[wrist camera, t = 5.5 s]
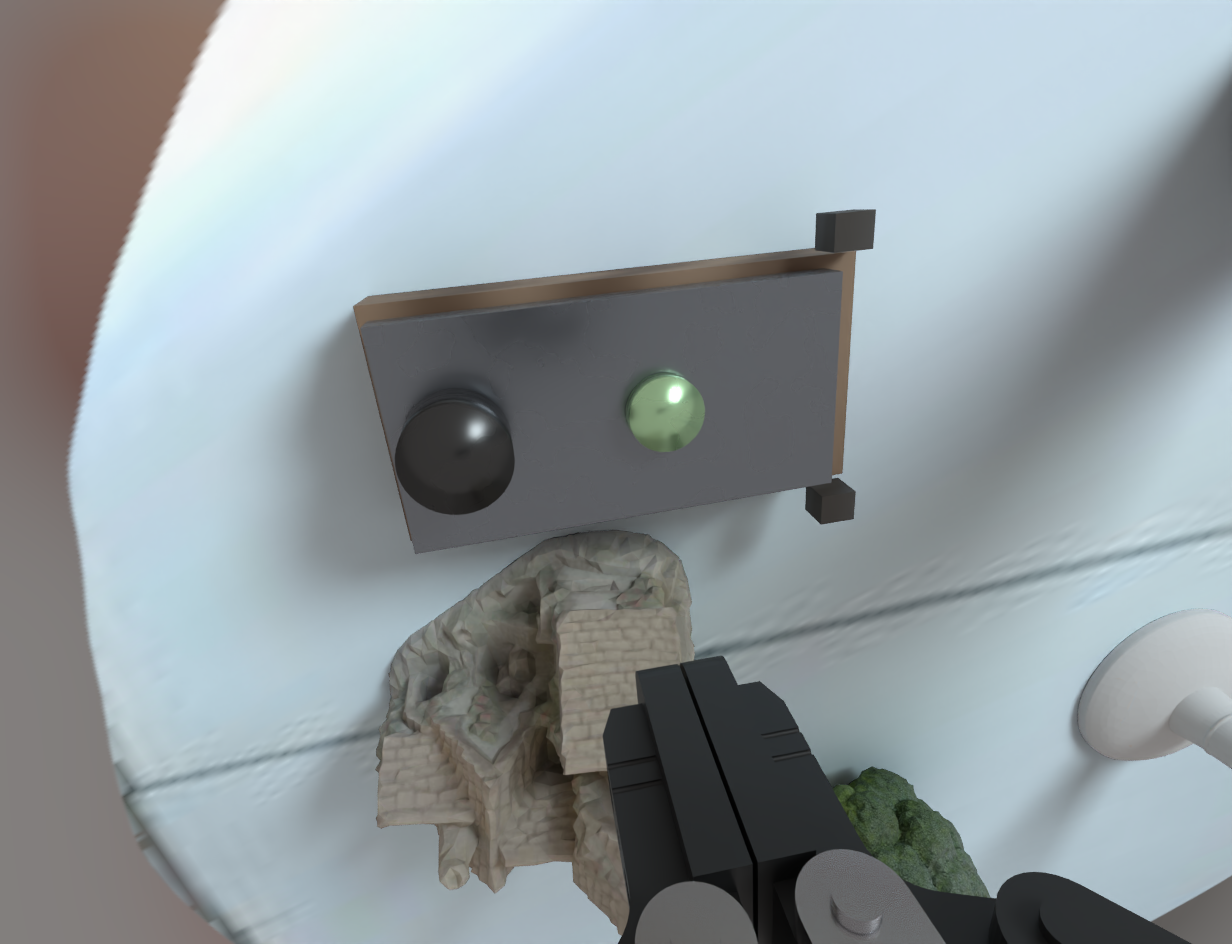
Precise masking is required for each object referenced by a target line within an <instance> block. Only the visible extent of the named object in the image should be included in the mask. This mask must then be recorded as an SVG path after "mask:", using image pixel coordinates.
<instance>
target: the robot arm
mask: <svg viewBox="0 0 1232 944" xmlns="http://www.w3.org/2000/svg"><path fill="white" fill-rule="evenodd" d="M635 678H636V689H637V699H638V704H635V705H630V706H624V707H619V708H613V709H611V710H610V713H609V716H608V720H607V723H606V726H605V729H604V732H603V744H604V751H605V759H606V766H607V774H608V781H609V789H610V796H611V804H612V810H613V815H614V821H615V827H616V833H617V839H618V845H619V851H620V857H621V863H622V869H623V875H624V881H625V887H626V893H627V899H628V905H629V916H628V921H627V924H626V927H625V930H624V933H623V935H622V937H621V939H620V941H619V942H618V944H1191V943H1189V942H1187V941H1185V940H1183V939H1182V938H1180V937H1178V936H1176V935H1174V934H1172V933H1170V932H1168V931H1167V930H1165V929H1163V928H1161V927H1159V926H1157V925H1155V924H1154V923H1152V922H1150V921H1148V920H1146V919H1144V918H1142V917H1140V916H1138V915H1137V914H1135V913H1133V912H1131V911H1129V910H1127V909H1125V908H1123V907H1121V906H1120V905H1118V904H1116V903H1114V902H1112V901H1110V900H1108V899H1106V898H1104V897H1103V896H1101V895H1099V894H1097V893H1095V892H1093V891H1091V890H1089V889H1087V888H1086V887H1084V886H1082V885H1080V884H1078V883H1075V882H1073V881H1071V880H1069V879H1066V878H1063V877H1060V876H1057V875H1053V874H1048V873H1041V872H1028V873H1022V874H1018V875H1015V876H1013V877H1011V878H1010V879H1008V880H1007V881H1006V882H1005V883H1004V884H1003V885H1002V886H1001V888H1000V890H999V891H998V894H997V898H996V899H995V898H987V897H979V896H971V895H963V894H955V893H948V892H940V891H935V890H930V889H926V888H923V887H920V886H917V885H914V884H912V883H910V882H908V881H905V880H903V879H902V878H900V877H899V876H898V875H897V874H896V873H895V872H894V871H893V870H892V869H891V868H889V867H888V866H887V865H885V864H884V863H882V862H881V861H879V860H877V859H876V858H874V857H873V856H872V854H871V853H870V852H869V851H868V850H867V848H866V847H865V845H864V844H863V842H862V841H861V839H860V837H859V836H858V834H857V832H856V830H855V828H854V827H853V825H852V823H851V821H850V819H849V818H848V816H847V814H846V812H845V810H844V809H843V807H842V805H841V803H840V801H839V800H838V798H837V796H836V794H835V792H834V791H833V789H832V787H831V785H830V783H829V782H828V780H827V778H826V776H825V774H824V773H823V771H822V769H821V767H820V765H819V764H818V762H817V760H816V758H815V756H814V755H812V754H811V750H810V747H809V746H808V744H807V742H806V740H805V738H804V737H803V735H802V733H800V732H799V729H798V726H797V724H796V722H795V720H794V719H793V717H792V715H791V713H790V711H789V710H788V708H787V706H786V704H785V702H784V701H783V700H782V699H781V698H779V697H778V696H777V695H776V694H775V693H773V692H772V691H771V690H770V689H768V688H767V687H766V686H765V685H764V684H762V683H761V682H760V681H759V682H753V683H748V684H742V685H737V683H736V680H735V678H734V676H733V674H732V672H731V670H730V668H729V666H728V664H727V662H726V660H725V658H724V657H723V656H716V657H711V658H705V659H699V660H694V661H688V662H683V663H680V665H678V664H673V665H667V666H661V667H656V668H650V669H645V670H639V671H636V672H635Z"/></svg>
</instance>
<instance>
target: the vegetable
mask: <svg viewBox="0 0 1232 944" xmlns="http://www.w3.org/2000/svg"><path fill="white" fill-rule="evenodd" d="M833 791H834V792H835V794H836V796H837V798H838V800H839V801H840V803H841V805H842V807H843V809H844V810H845V812H846V814H847V816H848V818H849V819H850V821H851V823H852V825H853V827H854V828H855V830H856V832H857V834H858V836H859V837H860V839H861V841H862V842H863V844H864V845H865V847H866V848H867V850H868V851H869V852H870V853H871V854H872V856H873V857H874V858H876V859H877V860H879V861H881V862H882V863H884V864H885V865H887V866H888V867H889V868H891V869H892V870H893V871H894V872H895V873H896V874H897V875H898V876H899V877H900V878H902V879H903V880H905V881H908V882H910V883H912V884H914V885H917V886H920V887H923V888H926V889H930V890H935V891H940V892H948V893H955V894H963V895H971V896H979V897H987V898H991V897H990V895H989V893H988V891H987V888H986V886H985V885H984V883H983V882H982V880H981V878H980V877H979V875H978V874H977V869H976V868H975V866H974V864H973V862H972V860H971V857H970V856H969V855H968V854H967V853H966V852H965V851H964V847H963V843H962V840H961V837H960V835H959V833H958V832H957V830H956V829H955V827H954V825H953V824H952V823H951V822H950V821H948V820H947V819H945V818H943V817H942V816H941V814H940V813H939V812H937V811H933V810H932V809H931V808H930V807H929V806H928V805H927V804H926V803H925V802H924V801H923V800H921V799H918V798H917V797H916V795H915V793H914V788H913V785H910V784H908V782H907V780H906V779H904V778H902V777H900V776H899V775H897V774H895V773H893V772H890V771H888V770H885V769H877V768H875V767H873V766H872V767H870V768H869V769H866V770H864V771H862V773H861V775H860V777H859V778H858V779H856V780H854V781H852V782H851V783H850V784H849V785H836V786H835V787H834V788H833Z"/></svg>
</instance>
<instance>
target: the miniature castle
mask: <svg viewBox="0 0 1232 944" xmlns="http://www.w3.org/2000/svg"><path fill="white" fill-rule="evenodd" d="M691 603H692V601H691V595H690V590H689V585H688V579H687V577H686V574H685V572H684V569H683V566H682V562H681V560H679V557H678V556H677V555H676V554H674V553H673V552H672V551H671V550H670V549H669V548H668V547H666V546H665V545H664V544H663V543H662V542H660V541H658V540H654V539H653V538H652V537H651V536H650V535H649V534H647V535H645V534H640V533H633V532H627V531H619V530H609V531H591V532H583V533H576V534H575V535H568V536H567V537H557V538H552V539H548V540H545V541H543V542H542V543H540V544H539V545H537V546H536V547H535V548H533V550H530V551H528V552H527V553H526V554H524V555H523V556H521V557H520V558H519V559H517V560H516V561H515V562H513V563H512V564H510V565H509V566H508V567H507V568H505V569H503V570H502V572H501V573H499V574H496V575H495V576H494V577H492V578H491V579H490V580H488V581H487V582H486V583H484V584H483V585H482V586H481V587H480V588H479V589H475V590H473V591H472V592H471V593H470V594H469V595H468V596H467V597H466V598H464V600H463V601H460V602H458V603H456V605H455V606H452V607H451V608H450V609H448V610H446V611H445V612H444V613H442V614H441V615H439V616H438V617H437V618H436V619H435V620H433V621H431V622H429V623H428V624H427V625H426V626H424V627H422V628H421V629H420V630H418V631H416V632H415V633H413V634H412V635H410V637H409V638H408V639H407V640H406V641H405V643H404V644H403V645H402V646H401V647H400V648H399V649H398V650H397V653H396V655H395V657H394V660H393V662H392V664H391V672H390V673H389V677H390V680H389V682H390V683H389V684H390V695H391V699H390V703H389V711H388V713H387V716H386V718H387V720H386V721H385V722H384V723H383V724H382V726H381V727H380V728H379V731H380V735H381V736H380V740H379V744H378V747H377V749H376V756H377V757H378V758H379V759H380V763H379V764H378V766H377V767H376V769H375V770H376V771H377V772H378V773H379V779H378V815H377V817H376V820H377V827H379V828H384V827H387V826H394V825H411V824H435V826H436V827H437V830H438V835H439V869H438V873H439V880H440V883H442V884H443V885H444V886H445V887H446V888H447V889H449V890H453V889H458V888H460V887H461V886H463V885H464V884H466V882H467V881H468V879H469V877H470V876H469V867H471V868H472V870H471V872H472V873H474V874H476V875H478V878H479V880H480V881H482V882H484V883H485V884H487V885H488V887H489V888H490V889H491V890H492V891H493V892H494V893H497V892H498V891H499V890H500V889H501V888H502V887H504V886H505V882H506V878H507V875H508V874H509V873H510V872H511V870H512V869H513V868H514V867H515V866H531V865H538V864H543V863H548V862H552V861H561V862H572V866H573V882H574V883H575V884H576V885H577V886H578V887H579V888H580V889H581V890H582V891H583V892H585V893H586V894H587V896H588V899H589V900H590V901H592V902H593V903H594V904H595V905H596V906H597V907H598V908H599V909H600V910H601V911H602V912H603V913H605V914H606V915H607V916H608V917H609V919H610V921H611V923H612V924H614V925H615V926H617V930H618V934H620V935H623V933H624V930H625V927H626V924H627V921H628V916H629V905H628V899H627V893H626V887H625V881H624V875H623V869H622V863H621V857H620V851H619V845H618V839H617V833H616V827H615V821H614V815H613V810H612V804H611V796H610V789H609V781H608V774H607V766H606V759H605V751H604V744H603V732H604V729H605V726H606V723H607V720H608V716H609V713H610V710H611V709H613V708H619V707H624V706H630V705H635V704H638V699H637V689H636V678H635V672H636V671H639V670H645V669H650V668H656V667H661V666H667V665H673V664H678V665H680V663H683V662H688V661H694V655H695V652H694V644H693V642H692V640H691V631H692V626H691V619H690V611H689V608H690V606H691Z"/></svg>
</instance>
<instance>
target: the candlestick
mask: <svg viewBox="0 0 1232 944" xmlns="http://www.w3.org/2000/svg"><path fill="white" fill-rule="evenodd" d="M1078 726H1079V730H1080V733H1081V735H1082V736H1083V738H1084V740H1085V741H1086V742H1087V743H1088V744H1089V745H1090V746H1091V747H1092V748H1094V749H1095V750H1096V751H1097V752H1099V753H1100V754H1102V755H1104V756H1106V757H1109V758H1112V759H1117V760H1128V761H1134V760H1147V759H1153V758H1158V757H1162V756H1166V755H1169V754H1172V753H1174V752H1177V751H1179V750H1181V749H1184V748H1186V747H1188V746H1190V745H1192V744H1193V743H1194V744H1196V745H1198V746H1199V747H1201V748H1203V749H1204V750H1205V751H1206V753H1208V754H1209V755H1212V756H1213V757H1215V758H1216V759H1218V760H1219V761H1221V762H1222V763H1224V764H1225V765H1227V766H1228V767H1229V768H1231V769H1232V618H1231V617H1229V616H1228V615H1226V614H1224V613H1222V612H1219V611H1216V610H1212V609H1189V610H1183V611H1179V612H1175V613H1172V614H1169V615H1166V616H1164V617H1161V618H1159V619H1157V620H1155V621H1153V622H1151V623H1149V624H1147V625H1145V626H1144V627H1142V628H1140V629H1139V630H1137V631H1136V632H1134V633H1133V634H1131V635H1130V636H1129V637H1127V638H1126V639H1125V640H1124V641H1122V642H1121V643H1120V644H1119V645H1118V646H1117V647H1116V648H1114V649H1113V650H1112V651H1111V652H1110V654H1109V655H1108V656H1107V657H1106V658H1105V659H1104V660H1103V661H1102V662H1101V664H1100V665H1099V666H1098V668H1097V669H1096V670H1095V672H1094V673H1093V675H1092V676H1091V678H1090V679H1089V681H1088V683H1087V685H1086V687H1085V689H1084V691H1083V694H1082V697H1081V699H1080V703H1079V708H1078Z"/></svg>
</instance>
